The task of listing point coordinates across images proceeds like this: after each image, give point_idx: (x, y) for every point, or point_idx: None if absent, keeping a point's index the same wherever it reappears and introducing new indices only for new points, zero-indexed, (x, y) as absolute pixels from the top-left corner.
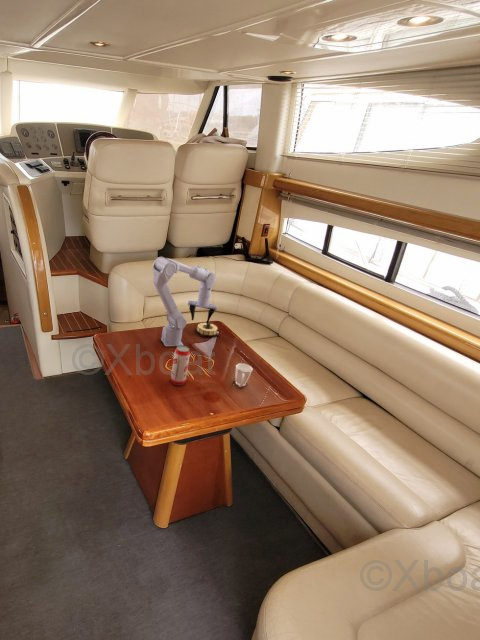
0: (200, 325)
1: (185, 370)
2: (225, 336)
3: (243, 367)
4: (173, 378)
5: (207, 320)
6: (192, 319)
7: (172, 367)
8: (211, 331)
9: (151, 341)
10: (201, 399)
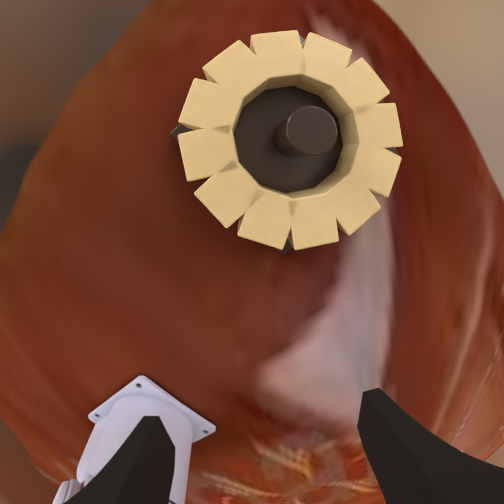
0: (211, 150)
1: None
2: (432, 124)
3: None
4: None
5: (375, 463)
6: (169, 459)
7: None
8: (364, 222)
9: (80, 436)
10: None
